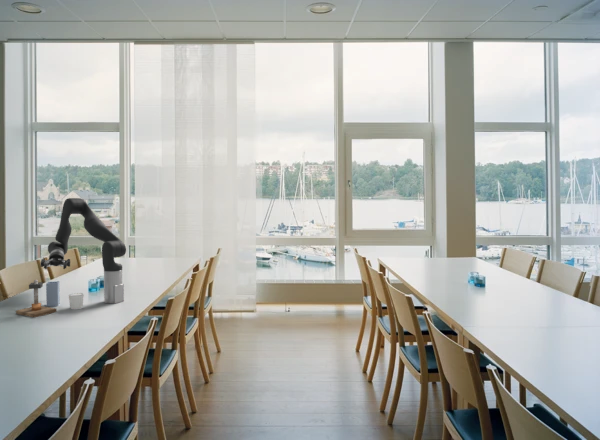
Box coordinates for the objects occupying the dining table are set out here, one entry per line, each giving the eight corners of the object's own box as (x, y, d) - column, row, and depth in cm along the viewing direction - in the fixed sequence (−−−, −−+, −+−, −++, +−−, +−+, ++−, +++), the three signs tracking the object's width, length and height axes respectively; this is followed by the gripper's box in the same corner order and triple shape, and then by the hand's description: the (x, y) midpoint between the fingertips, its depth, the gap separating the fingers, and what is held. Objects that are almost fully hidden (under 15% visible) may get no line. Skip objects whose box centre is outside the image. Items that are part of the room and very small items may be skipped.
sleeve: (59, 303, 225) (59, 281, 225) (58, 305, 220) (57, 283, 220) (48, 304, 224) (48, 281, 223) (46, 306, 219) (46, 283, 218)
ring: (42, 286, 210) (42, 282, 210) (40, 288, 206) (40, 284, 205) (31, 286, 208) (31, 282, 208) (29, 288, 204) (28, 284, 204)
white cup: (80, 305, 222) (80, 292, 222) (86, 307, 218) (86, 294, 218) (66, 307, 217) (66, 294, 217) (72, 310, 213) (72, 296, 212)
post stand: (56, 311, 210) (55, 279, 209) (34, 317, 200) (34, 283, 199) (38, 308, 216) (37, 276, 215) (16, 313, 206) (15, 280, 205)
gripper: (42, 251, 239) (39, 261, 225) (71, 251, 245) (70, 260, 232) (41, 263, 240) (39, 274, 226) (70, 263, 247) (69, 273, 233)
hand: (55, 267), depth 229 cm, fingers open, 8 cm apart
